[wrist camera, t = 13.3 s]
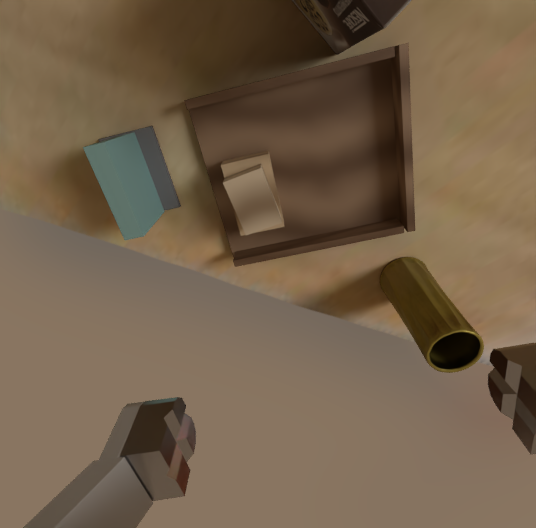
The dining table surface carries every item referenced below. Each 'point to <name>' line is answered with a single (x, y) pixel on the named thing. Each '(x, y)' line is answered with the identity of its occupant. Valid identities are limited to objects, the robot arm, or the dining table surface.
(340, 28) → the coffee box
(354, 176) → the brown wooden tray
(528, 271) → the dining table surface
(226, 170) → the offcut low
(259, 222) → the offcut top
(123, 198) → the teal rectangular block
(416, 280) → the vase
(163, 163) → the mat
